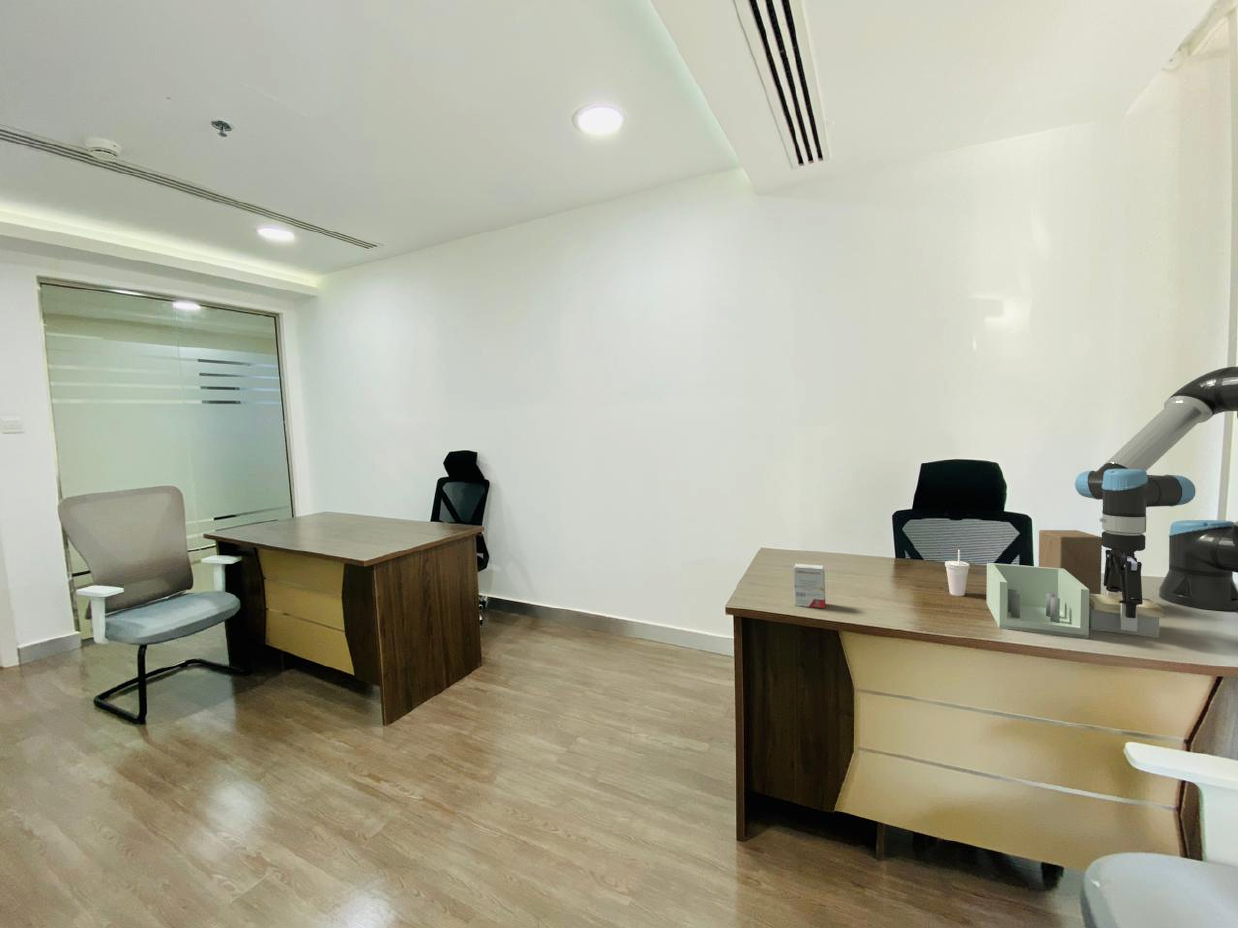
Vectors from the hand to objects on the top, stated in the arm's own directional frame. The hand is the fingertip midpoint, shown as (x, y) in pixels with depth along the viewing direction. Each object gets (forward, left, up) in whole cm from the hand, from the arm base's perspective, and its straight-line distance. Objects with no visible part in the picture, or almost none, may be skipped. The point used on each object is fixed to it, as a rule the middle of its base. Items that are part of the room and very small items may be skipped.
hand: (1121, 623), depth 122 cm
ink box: (+71, +10, -2) cm, 72 cm away
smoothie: (+32, -17, -2) cm, 36 cm away
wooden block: (+5, -21, -2) cm, 22 cm away
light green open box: (+17, 0, -2) cm, 17 cm away
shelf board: (0, 0, +4) cm, 4 cm away
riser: (0, 0, -2) cm, 2 cm away
